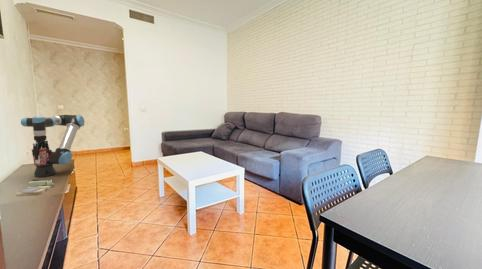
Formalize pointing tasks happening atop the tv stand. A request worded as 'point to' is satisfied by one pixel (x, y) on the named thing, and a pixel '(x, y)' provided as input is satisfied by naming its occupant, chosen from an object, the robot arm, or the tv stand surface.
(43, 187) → the board
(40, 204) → the tv stand surface
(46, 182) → the leg
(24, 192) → the seat pad
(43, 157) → the mug
